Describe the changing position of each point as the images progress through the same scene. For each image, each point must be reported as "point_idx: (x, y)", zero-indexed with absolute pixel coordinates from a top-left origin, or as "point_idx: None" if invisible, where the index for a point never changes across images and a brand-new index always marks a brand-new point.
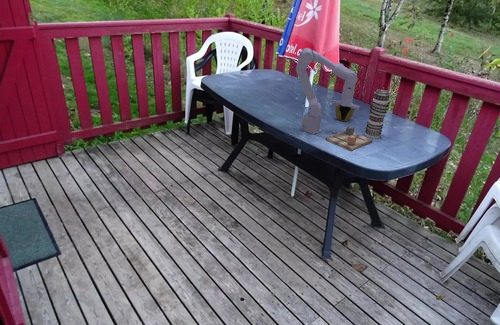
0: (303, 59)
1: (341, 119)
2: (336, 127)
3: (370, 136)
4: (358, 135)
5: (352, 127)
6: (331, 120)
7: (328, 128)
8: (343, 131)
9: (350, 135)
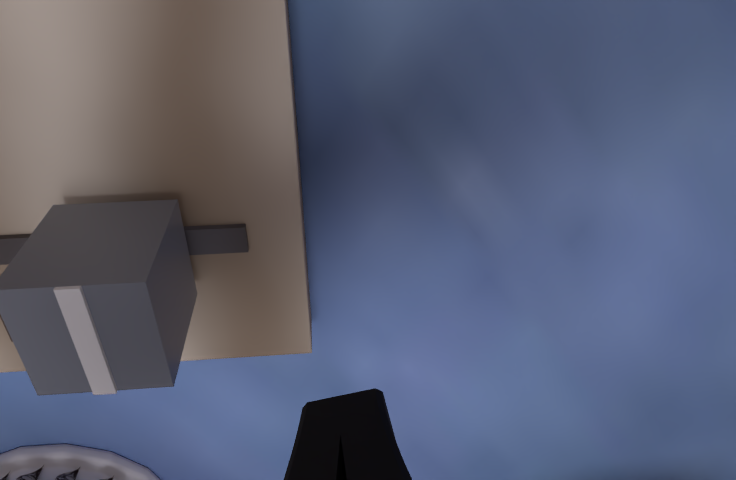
0: None
1: (368, 394)
2: (532, 335)
3: (9, 459)
4: None
5: (77, 376)
6: (702, 440)
7: (609, 207)
8: (295, 254)
9: None
